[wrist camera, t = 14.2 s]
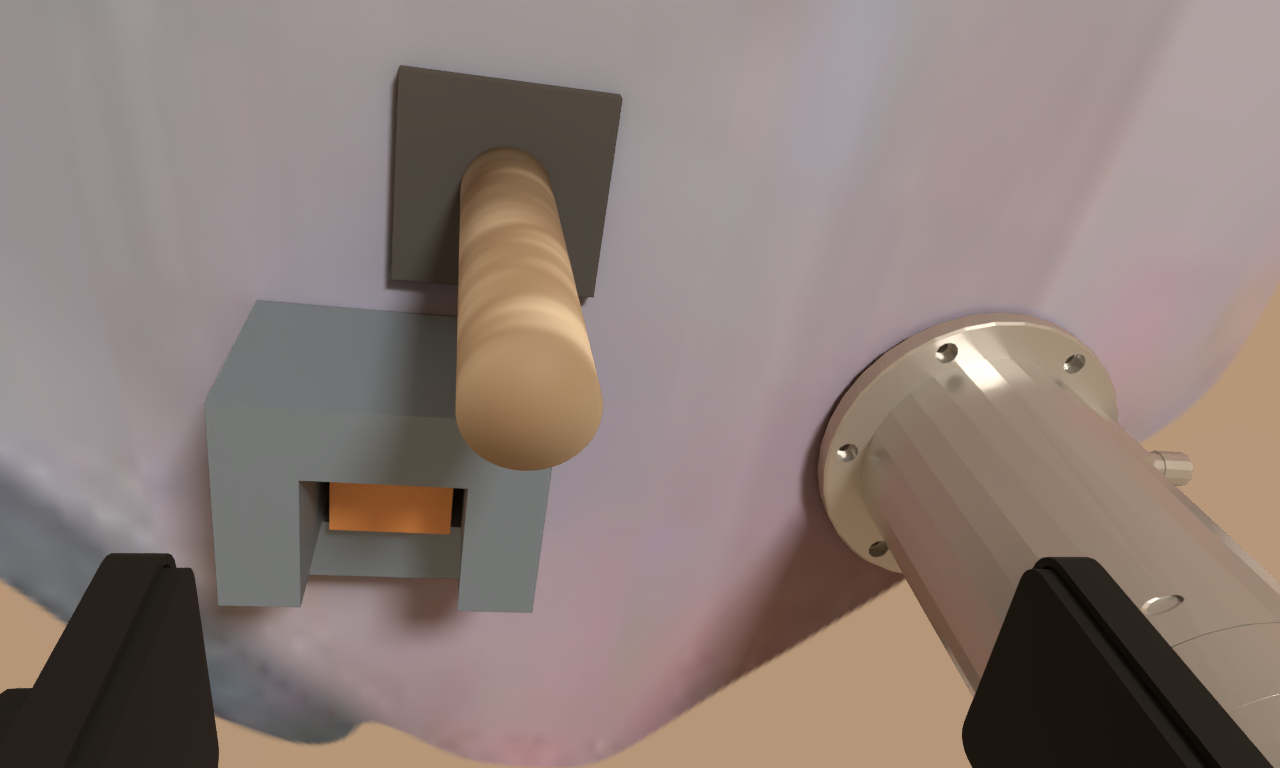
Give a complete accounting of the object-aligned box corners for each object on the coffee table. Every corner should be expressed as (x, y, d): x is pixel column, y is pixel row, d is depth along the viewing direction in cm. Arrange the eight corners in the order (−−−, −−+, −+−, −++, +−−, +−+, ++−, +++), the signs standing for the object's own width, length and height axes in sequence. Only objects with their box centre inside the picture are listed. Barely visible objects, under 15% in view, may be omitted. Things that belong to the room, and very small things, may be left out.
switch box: (545, 324, 35) (557, 425, 29) (519, 540, 39) (524, 666, 33) (257, 300, 33) (204, 402, 27) (265, 531, 37) (222, 662, 31)
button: (459, 400, 35) (457, 437, 32) (451, 493, 37) (449, 534, 34) (339, 392, 34) (329, 429, 32) (339, 488, 36) (329, 529, 34)
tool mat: (620, 94, 31) (622, 98, 30) (591, 290, 34) (593, 297, 34) (400, 65, 30) (398, 68, 29) (392, 272, 33) (390, 278, 32)
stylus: (556, 152, 31) (612, 351, 19) (546, 238, 32) (592, 473, 20) (463, 141, 30) (460, 340, 18) (457, 229, 32) (450, 467, 20)
